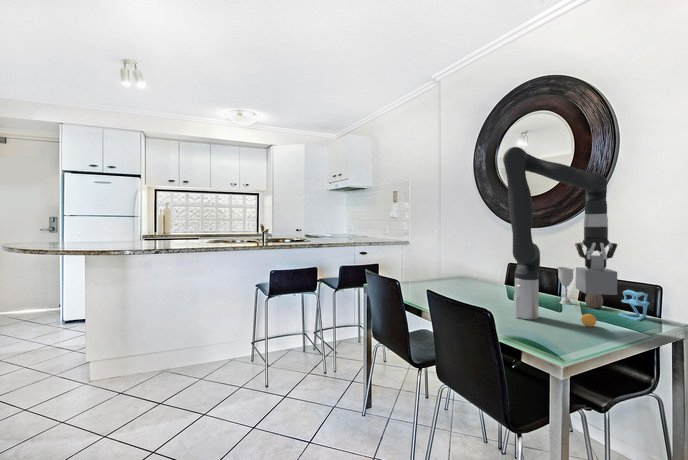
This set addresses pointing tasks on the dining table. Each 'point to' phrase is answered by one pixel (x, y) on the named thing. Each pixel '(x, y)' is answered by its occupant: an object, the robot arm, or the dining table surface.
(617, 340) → the dining table surface
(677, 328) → the dining table surface
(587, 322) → the ball
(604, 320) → the dining table surface
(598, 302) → the vase
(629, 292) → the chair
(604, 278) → the gray block
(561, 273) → the chalice
